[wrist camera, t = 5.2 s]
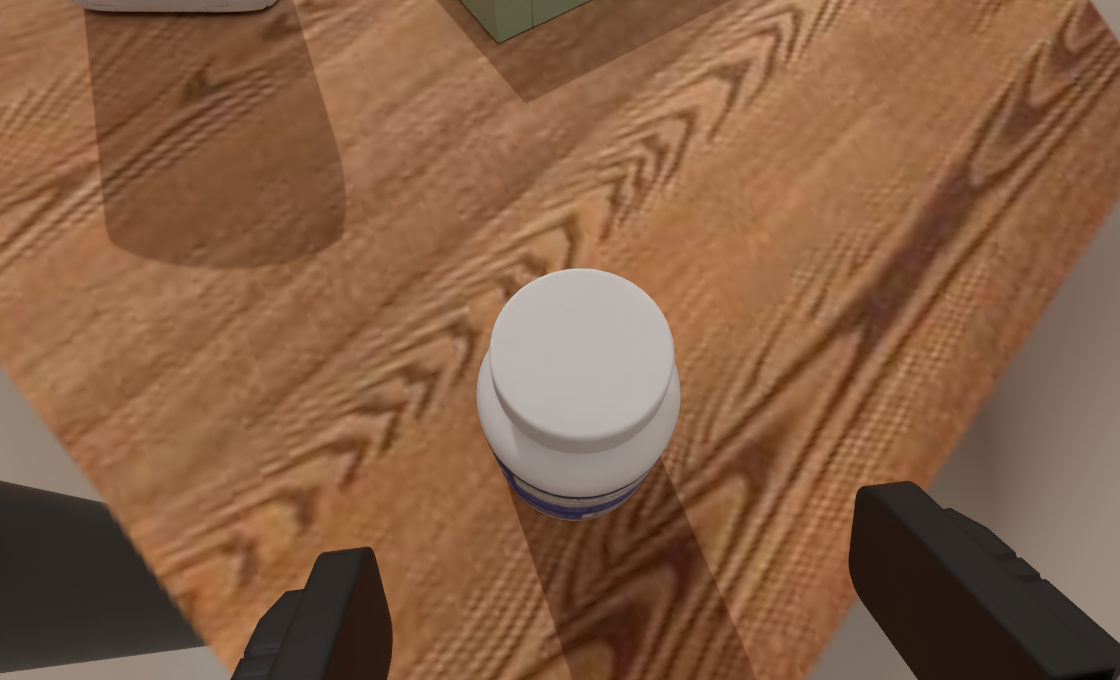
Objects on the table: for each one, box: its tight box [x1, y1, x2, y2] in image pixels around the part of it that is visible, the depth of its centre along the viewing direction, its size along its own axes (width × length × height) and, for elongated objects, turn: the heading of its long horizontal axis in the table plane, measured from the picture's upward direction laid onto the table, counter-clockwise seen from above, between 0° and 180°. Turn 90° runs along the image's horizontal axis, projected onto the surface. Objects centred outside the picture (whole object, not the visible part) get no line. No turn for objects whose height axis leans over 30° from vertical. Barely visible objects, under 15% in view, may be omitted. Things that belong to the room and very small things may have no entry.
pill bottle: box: [476, 269, 681, 521], centre depth 17 cm, size 5×5×9 cm
